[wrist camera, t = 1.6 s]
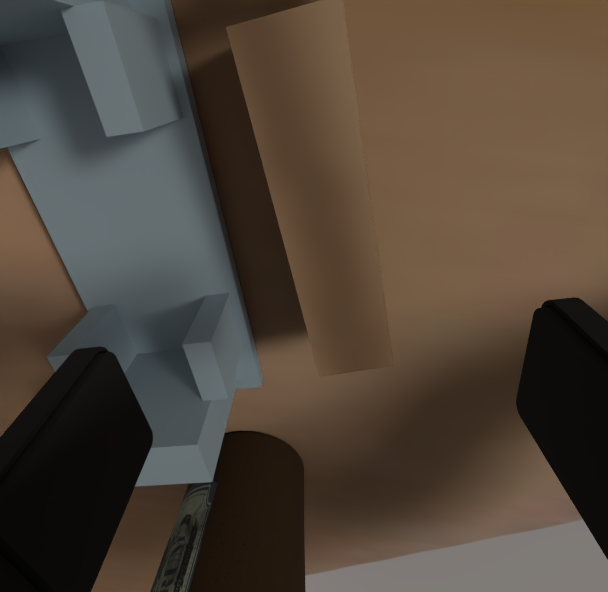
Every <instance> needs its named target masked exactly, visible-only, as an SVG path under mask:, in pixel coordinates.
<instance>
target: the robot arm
mask: <svg viewBox="0 0 608 592" xmlns="http://www.w3.org/2000/svg"><path fill="white" fill-rule="evenodd" d="M516 404H517V410H518V413H519V415H520V417H521V419H522V420H523V422H524V423H525V425H526V427H527V428H528V430H529V432H530V433H531V435H532V437H533V438H534V440H535V441H536V443H537V445H538V446H539V448H540V450H541V451H542V453H543V455H544V456H545V458H546V459H547V461H548V463H549V464H550V466H551V468H552V469H553V471H554V473H555V474H556V476H557V477H558V479H559V481H560V482H561V484H562V486H563V487H564V489H565V491H566V492H567V494H568V495H569V497H570V499H571V500H572V502H573V504H574V505H575V507H576V509H577V510H578V512H579V513H580V515H581V517H582V518H583V520H584V521H585V523H586V525H587V526H588V528H589V530H590V531H591V533H592V534H593V536H594V538H595V540H596V541H597V543H598V544H599V546H600V548H601V549H602V551H603V553H604V554H605V556H606V558H607V559H608V321H606V320H605V319H604V318H603V317H602V316H600V315H599V314H598V313H597V312H596V311H594V310H593V309H592V308H591V307H590V306H589V305H587V304H586V303H585V302H584V301H583V300H581V299H579V298H566V299H556V300H548V301H545V302H544V303H543V305H542V307H541V308H538V309H536V310H535V312H534V315H533V320H532V324H531V329H530V334H529V339H528V344H527V349H526V354H525V359H524V364H523V369H522V374H521V379H520V384H519V389H518V394H517V399H516ZM152 443H153V432H152V429H151V427H150V425H149V423H148V421H147V419H146V417H145V415H144V413H143V411H142V409H141V407H140V405H139V402H138V400H137V398H136V396H135V394H134V392H133V390H132V388H131V386H130V384H129V382H128V380H127V378H126V376H125V374H124V371H123V369H122V367H121V365H120V363H119V361H118V359H117V357H116V355H115V354H114V353H113V352H109V351H108V350H107V349H106V348H105V347H101V346H99V347H90V348H80V349H76V350H74V351H73V352H72V353H71V354H70V355H69V356H68V357H67V359H66V360H65V361H64V362H63V363H62V365H61V366H60V367H59V368H58V369H57V371H56V372H55V373H54V374H53V375H52V376H51V378H50V379H49V380H48V381H47V382H46V384H45V385H44V386H43V387H42V388H41V390H40V391H39V392H38V393H37V394H36V396H35V397H34V398H33V399H32V400H31V401H30V403H29V404H28V405H27V406H26V407H25V409H24V410H23V411H22V412H21V413H20V415H19V416H18V417H17V418H16V419H15V420H14V422H13V423H12V424H11V425H10V426H9V428H8V429H7V430H6V431H5V432H4V434H3V435H2V436H1V437H0V592H91V590H92V588H93V585H94V583H95V581H96V578H97V576H98V573H99V571H100V569H101V566H102V564H103V561H104V559H105V557H106V554H107V552H108V549H109V547H110V545H111V542H112V540H113V537H114V535H115V533H116V530H117V528H118V526H119V523H120V521H121V518H122V516H123V514H124V511H125V509H126V506H127V504H128V502H129V499H130V497H131V494H132V492H133V490H134V487H135V485H136V482H137V480H138V478H139V475H140V473H141V471H142V468H143V466H144V463H145V461H146V459H147V456H148V454H149V451H150V449H151V446H152Z"/></svg>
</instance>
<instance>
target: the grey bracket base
mask: <svg viewBox="0 0 608 592" xmlns="http://www.w3.org/2000/svg"><path fill="white" fill-rule="evenodd" d="M5 147H7V149H8V151H9V153H10V155H11V157H12V159H13V161H14V163H15V165H16V167H17V169H18V171H19V173H20V175H21V177H22V179H23V181H24V183H25V185H26V187H27V189H28V191H29V193H30V195H31V197H32V199H33V201H34V203H35V205H36V207H37V210H38V212H39V214H40V216H41V218H42V220H43V222H44V224H45V226H46V228H47V230H48V232H49V234H50V236H51V238H52V240H53V242H54V244H55V246H56V248H57V250H58V252H59V254H60V256H61V258H62V260H63V262H64V264H65V266H66V268H67V271H68V273H69V275H70V277H71V279H72V281H73V283H74V285H75V287H76V289H77V291H78V293H79V295H80V297H81V299H82V301H83V303H84V305H85V307H86V309H87V311H88V313H87V314H86V315H85V316H84V317H83V318H82V319H81V320H80V321H79V323H78V324H77V325H76V326H75V327H74V328H73V329H72V330H71V331H70V332H69V333H68V334H67V335H66V336H65V337H64V338H63V339H62V341H61V342H60V343H59V344H58V345H57V346H56V347H55V348H54V349H53V350H52V351H51V352H50V353H49V354H48V355H47V356H46V358H47V360H48V361H49V363H50V365H51V366H52V368H53V370H54V371H55V372H56V371H57V369H58V368H59V367H60V366H61V365H62V363H63V362H64V361H65V360H66V359H67V357H68V356H69V355H70V354H71V353H72V352H73V351H74V350H76V349H80V348H90V347H99V346H101V347H105V348H106V349H107V350H108V351H109V352H113V353H114V354H115V355H116V357H117V359H118V361H119V363H120V365H121V367H122V369H123V371H124V374H125V376H126V378H127V380H128V382H129V384H130V386H131V388H132V390H133V392H134V394H135V396H136V398H137V400H138V402H139V405H140V407H141V409H142V411H143V413H144V415H145V417H146V419H147V421H148V423H149V425H150V427H151V429H152V432H153V443H152V446H151V449H150V451H149V454H148V456H147V459H146V461H145V463H144V466H143V468H142V471H141V473H140V475H139V478H138V480H137V482H136V485H135V487H137V486H154V485H171V484H188V483H205V482H212V481H213V477H214V473H215V469H216V465H217V461H218V457H219V453H220V449H221V445H222V441H223V437H224V433H225V429H226V425H227V421H228V417H229V413H230V409H231V406H232V402H233V398H234V394H235V390H236V389H248V388H260V387H262V381H263V375H262V371H261V367H260V363H259V359H258V355H257V351H256V347H255V343H254V339H253V335H252V331H251V326H250V322H249V318H248V314H247V310H246V306H245V302H244V298H243V294H242V290H241V286H240V282H239V278H238V273H237V269H236V265H235V261H234V257H233V253H232V249H231V245H230V241H229V237H228V233H227V229H226V225H225V221H224V216H223V212H222V208H221V204H220V200H219V196H218V192H217V188H216V184H215V180H214V176H213V172H212V168H211V163H210V159H209V155H208V151H207V147H206V143H205V139H204V135H203V131H202V127H201V123H200V119H199V115H198V110H197V106H196V102H195V98H194V94H193V90H192V86H191V82H190V78H189V74H188V70H187V66H186V62H185V57H184V53H183V49H182V45H181V41H180V37H179V33H178V29H177V25H176V21H175V17H174V13H173V9H172V4H171V0H0V149H1V148H5Z"/></svg>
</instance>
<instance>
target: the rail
mask: <svg viewBox="0 0 608 592" xmlns="http://www.w3.org/2000/svg"><path fill="white" fill-rule="evenodd" d="M226 30H227V34H228V37H229V41H230V45H231V49H232V52H233V56H234V60H235V64H236V67H237V71H238V75H239V78H240V82H241V86H242V90H243V93H244V97H245V101H246V105H247V108H248V112H249V116H250V119H251V123H252V127H253V131H254V134H255V138H256V142H257V146H258V149H259V153H260V157H261V160H262V164H263V168H264V172H265V175H266V179H267V183H268V187H269V190H270V194H271V198H272V202H273V205H274V209H275V213H276V216H277V220H278V224H279V228H280V231H281V235H282V239H283V243H284V246H285V250H286V254H287V257H288V261H289V265H290V269H291V272H292V276H293V280H294V284H295V287H296V291H297V295H298V298H299V302H300V306H301V310H302V313H303V317H304V321H305V325H306V328H307V332H308V336H309V339H310V343H311V347H312V351H313V354H314V358H315V362H316V366H317V369H318V373H319V377H321V376H328V375H334V374H341V373H348V372H354V371H361V370H368V369H374V368H381V367H387V366H394V365H393V357H392V350H391V343H390V336H389V329H388V321H387V314H386V307H385V300H384V293H383V285H382V278H381V271H380V264H379V257H378V249H377V242H376V235H375V228H374V221H373V213H372V206H371V199H370V192H369V184H368V177H367V170H366V163H365V156H364V148H363V141H362V134H361V127H360V120H359V112H358V105H357V98H356V91H355V84H354V76H353V69H352V62H351V55H350V47H349V40H348V33H347V26H346V19H345V11H344V4H343V0H320V1H316V2H312V3H309V4H305V5H302V6H298V7H295V8H291V9H288V10H284V11H281V12H277V13H274V14H270V15H267V16H263V17H260V18H256V19H253V20H249V21H245V22H242V23H238V24H235V25H231V26H228V27H226Z"/></svg>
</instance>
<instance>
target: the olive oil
mask: <svg viewBox="0 0 608 592" xmlns="http://www.w3.org/2000/svg"><path fill="white" fill-rule="evenodd" d="M150 592H305V551H304V467H303V462H302V460H301V458H300V456H299V455H298V453H297V452H296V451H295V450H294V449H293V448H292V447H291V446H290V445H288V444H287V443H285V442H284V441H282V440H280V439H278V438H276V437H273V436H270V435H267V434H263V433H257V432H234V433H229V434H225V435H224V437H223V441H222V445H221V449H220V453H219V457H218V461H217V465H216V469H215V473H214V477H213V481H212V482H205V483H189V485H188V488H187V491H186V494H185V496H184V499H183V502H182V505H181V508H180V511H179V513H178V516H177V519H176V522H175V525H174V527H173V530H172V533H171V536H170V539H169V541H168V544H167V547H166V550H165V552H164V555H163V558H162V561H161V563H160V566H159V569H158V572H157V575H156V577H155V580H154V583H153V586H152V588H151V591H150Z"/></svg>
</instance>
